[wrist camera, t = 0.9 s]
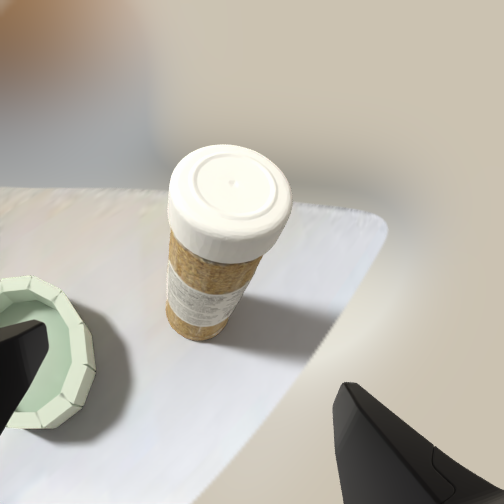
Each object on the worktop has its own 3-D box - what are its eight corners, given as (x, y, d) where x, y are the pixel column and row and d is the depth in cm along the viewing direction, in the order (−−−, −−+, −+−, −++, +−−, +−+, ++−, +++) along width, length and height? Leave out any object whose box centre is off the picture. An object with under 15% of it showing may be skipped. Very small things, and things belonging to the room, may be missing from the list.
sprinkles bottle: (197, 270, 24) (233, 125, 13) (241, 313, 23) (319, 193, 12) (151, 309, 22) (143, 173, 10) (196, 356, 21) (237, 263, 10)
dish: (68, 454, 15) (56, 457, 13) (-40, 383, 14) (-58, 377, 12) (115, 324, 20) (110, 311, 18) (9, 271, 20) (-3, 256, 18)
